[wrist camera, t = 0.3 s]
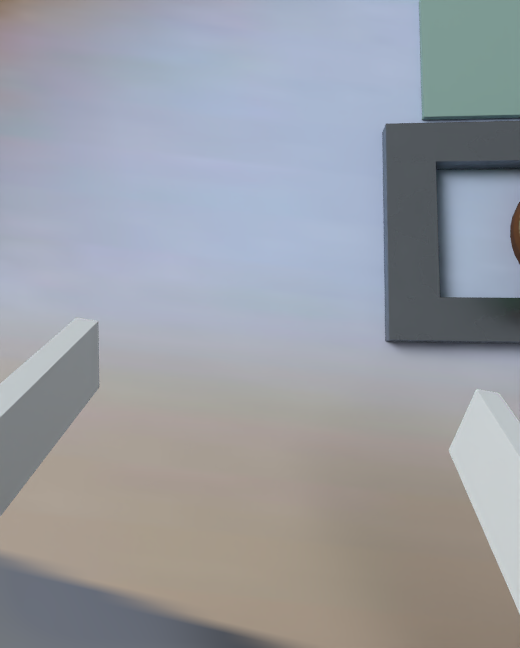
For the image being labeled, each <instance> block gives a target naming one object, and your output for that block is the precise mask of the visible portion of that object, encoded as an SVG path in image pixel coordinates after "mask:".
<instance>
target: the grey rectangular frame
mask: <svg viewBox="0 0 520 648" xmlns="http://www.w3.org/2000/svg"><path fill="white" fill-rule="evenodd" d="M382 135H383V204H384V273H385V341H412V342H477V343H520V298H457V297H440V284H439V252H438V219H437V186H436V169H498V168H520V121H493V122H446V123H399V124H386V125H385V128H384V130H383V133H382Z"/></svg>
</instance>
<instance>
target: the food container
mask: <svg viewBox="0 0 520 648" xmlns="http://www.w3.org/2000/svg"><path fill="white" fill-rule="evenodd" d="M510 237H511V243H512V248H513V251H514V254H515V256H516V258H517V260H518V262H519V264H520V202H519V203H518V206H517V208H516V210H515V212H514V215H513V217H512V222H511V230H510Z"/></svg>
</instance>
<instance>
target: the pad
mask: <svg viewBox="0 0 520 648" xmlns="http://www.w3.org/2000/svg"><path fill="white" fill-rule="evenodd" d="M419 17H420V55H421V92H422V120H442V119H487V118H520V0H420V1H419Z"/></svg>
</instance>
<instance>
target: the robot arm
mask: <svg viewBox="0 0 520 648" xmlns="http://www.w3.org/2000/svg"><path fill="white" fill-rule="evenodd" d="M98 388H99V338H98V321H95V320H89V319H84V318H78V317H76V318H75V319H74V320H73V321H72V322H70V323H69V324H68V325H67V326H66V327H65V328H64V329H62V330H61V331H60V332H59V333H58V334H57V335H56V336H54V337H53V338H52V339H51V340H50V341H49V342H48V343H46V344H45V345H44V346H43V347H42V348H41V349H39V350H38V351H37V352H36V353H35V354H34V355H33V356H31V357H30V358H29V359H28V360H27V361H26V362H25V363H23V364H22V365H21V366H20V367H19V368H18V369H17V370H15V371H14V372H13V373H12V374H11V375H10V376H8V377H7V378H6V379H5V380H4V381H3V382H2V383H0V516H1V515H2V514H3V512H4V511H5V510H6V508H7V507H8V506H9V504H10V503H11V502H12V500H13V499H14V498H15V497H16V495H17V494H18V493H19V491H20V490H21V489H22V487H23V486H24V485H25V483H26V482H27V481H28V480H29V478H30V477H31V476H32V474H33V473H34V472H35V470H36V469H37V468H38V466H39V465H40V464H41V463H42V461H43V460H44V459H45V457H46V456H47V455H48V453H49V452H50V451H51V449H52V448H53V447H54V446H55V444H56V443H57V442H58V440H59V439H60V438H61V436H62V435H63V434H64V432H65V431H66V430H67V429H68V427H69V426H70V425H71V423H72V422H73V421H74V419H75V418H76V417H77V415H78V414H79V413H80V412H81V410H82V409H83V408H84V406H85V405H86V404H87V402H88V401H89V400H90V398H91V397H92V396H93V395H94V393H95V392H96V391H97V389H98ZM449 452H450V455H451V457H452V459H453V462H454V464H455V466H456V468H457V471H458V473H459V475H460V478H461V480H462V482H463V485H464V487H465V489H466V492H467V494H468V496H469V498H470V501H471V503H472V505H473V508H474V510H475V512H476V515H477V517H478V519H479V521H480V524H481V526H482V528H483V531H484V533H485V535H486V538H487V540H488V542H489V544H490V547H491V549H492V551H493V554H494V556H495V558H496V561H497V563H498V565H499V567H500V570H501V572H502V574H503V577H504V579H505V581H506V584H507V586H508V588H509V591H510V593H511V595H512V597H513V600H514V602H515V604H516V607H517V609H518V611H519V614H520V422H519V421H518V419H517V418H516V416H515V415H514V413H513V412H512V411H511V409H510V408H509V406H508V405H507V404H506V402H505V401H504V399H503V398H502V397H501V395H500V394H499V393H496V392H491V391H485V390H480V389H476V391H475V393H474V396H473V398H472V400H471V402H470V404H469V407H468V409H467V411H466V413H465V416H464V418H463V420H462V422H461V424H460V427H459V429H458V431H457V433H456V435H455V438H454V440H453V442H452V444H451V446H450V449H449Z"/></svg>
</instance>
